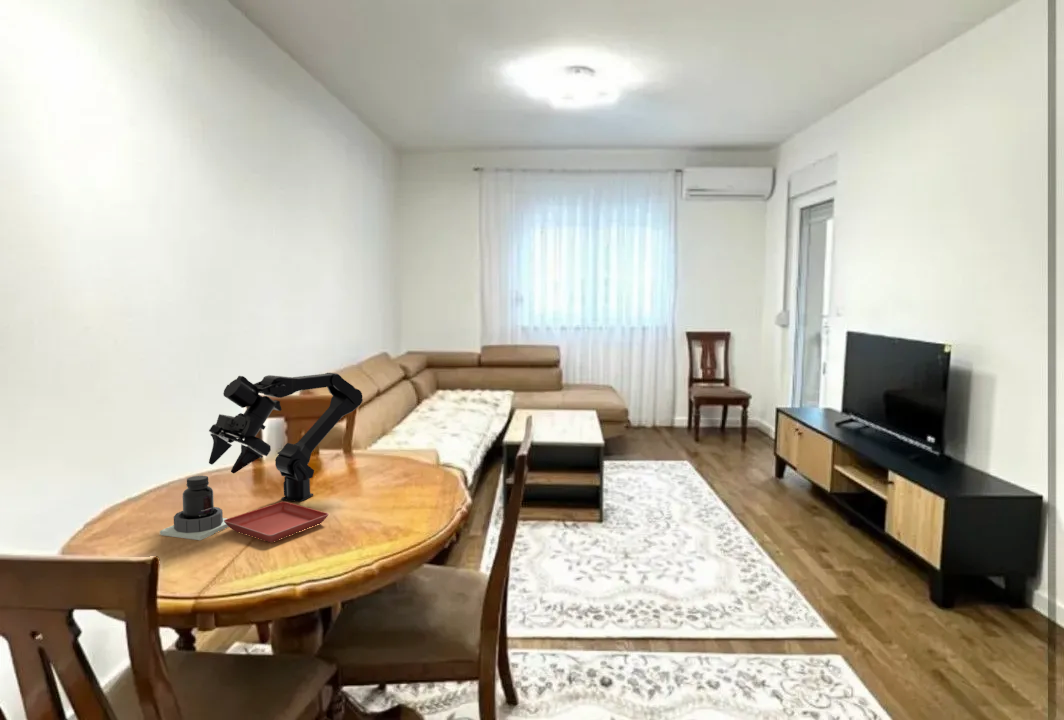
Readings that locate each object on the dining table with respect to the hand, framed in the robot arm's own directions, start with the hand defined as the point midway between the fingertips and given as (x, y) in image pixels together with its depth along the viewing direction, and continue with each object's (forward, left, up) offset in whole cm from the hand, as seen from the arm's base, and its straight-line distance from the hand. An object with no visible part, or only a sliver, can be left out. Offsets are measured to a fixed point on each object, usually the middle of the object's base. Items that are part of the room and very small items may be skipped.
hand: (221, 468), depth 168 cm
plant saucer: (-18, +2, -14) cm, 23 cm away
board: (0, +8, -13) cm, 16 cm away
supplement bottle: (0, +8, -13) cm, 15 cm away
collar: (0, +8, -13) cm, 16 cm away
